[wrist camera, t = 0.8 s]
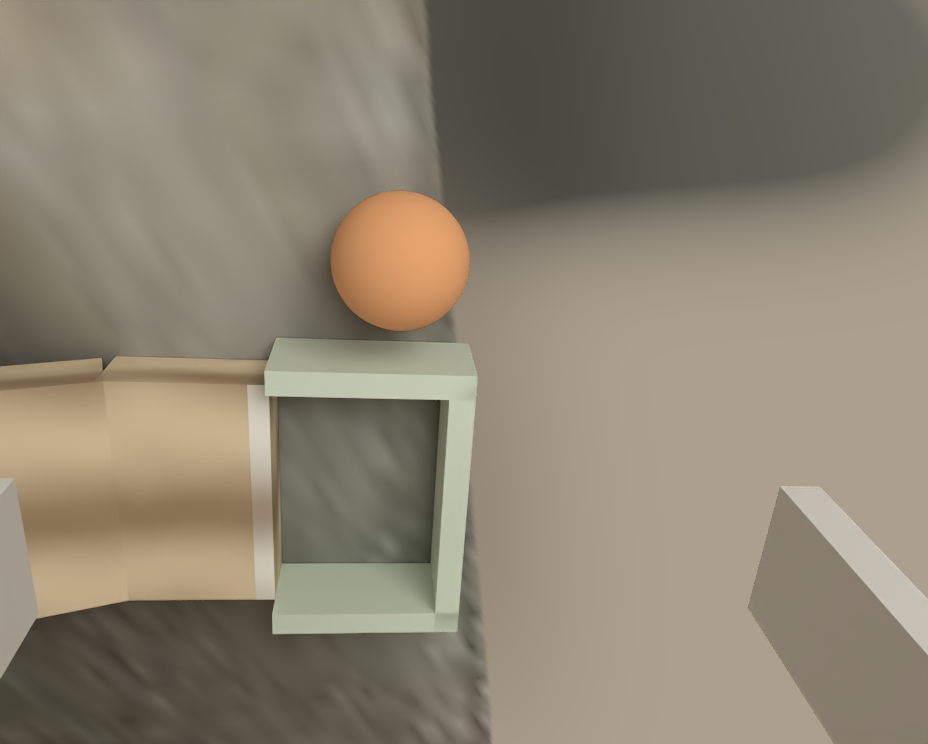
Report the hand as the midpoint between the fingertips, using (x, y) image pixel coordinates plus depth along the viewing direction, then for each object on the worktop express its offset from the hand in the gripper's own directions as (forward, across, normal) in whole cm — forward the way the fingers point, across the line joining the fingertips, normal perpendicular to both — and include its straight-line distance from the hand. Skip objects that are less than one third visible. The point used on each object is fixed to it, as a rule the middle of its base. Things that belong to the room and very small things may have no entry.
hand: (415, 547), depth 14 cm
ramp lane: (+19, -12, -9) cm, 24 cm away
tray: (+19, -1, -9) cm, 21 cm away
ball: (+19, 0, +1) cm, 19 cm away
